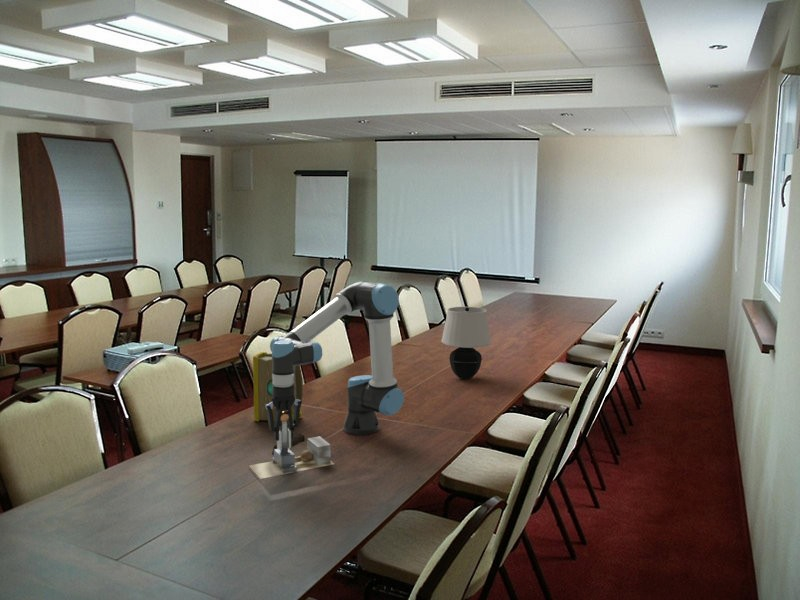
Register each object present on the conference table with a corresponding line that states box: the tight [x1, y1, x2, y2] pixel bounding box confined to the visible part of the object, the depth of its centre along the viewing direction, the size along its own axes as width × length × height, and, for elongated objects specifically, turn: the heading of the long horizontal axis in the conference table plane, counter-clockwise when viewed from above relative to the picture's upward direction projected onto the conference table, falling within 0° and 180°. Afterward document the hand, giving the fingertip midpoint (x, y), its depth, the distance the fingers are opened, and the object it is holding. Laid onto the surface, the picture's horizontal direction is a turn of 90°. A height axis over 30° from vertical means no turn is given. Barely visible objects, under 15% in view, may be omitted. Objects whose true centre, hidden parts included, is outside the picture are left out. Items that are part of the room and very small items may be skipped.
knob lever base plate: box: [248, 435, 335, 484], centre depth 242 cm, size 28×13×8 cm, turn 120°
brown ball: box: [299, 449, 313, 462], centre depth 245 cm, size 4×4×4 cm
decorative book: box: [252, 351, 304, 422], centre depth 293 cm, size 20×11×30 cm, turn 77°
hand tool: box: [271, 433, 306, 456], centre depth 260 cm, size 19×4×5 cm, turn 152°
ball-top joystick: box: [271, 411, 297, 473], centre depth 239 cm, size 5×12×20 cm, turn 30°
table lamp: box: [440, 306, 492, 381], centre depth 364 cm, size 27×27×40 cm
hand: (284, 447), depth 240 cm, fingers closed on ball-top joystick, 3 cm apart
